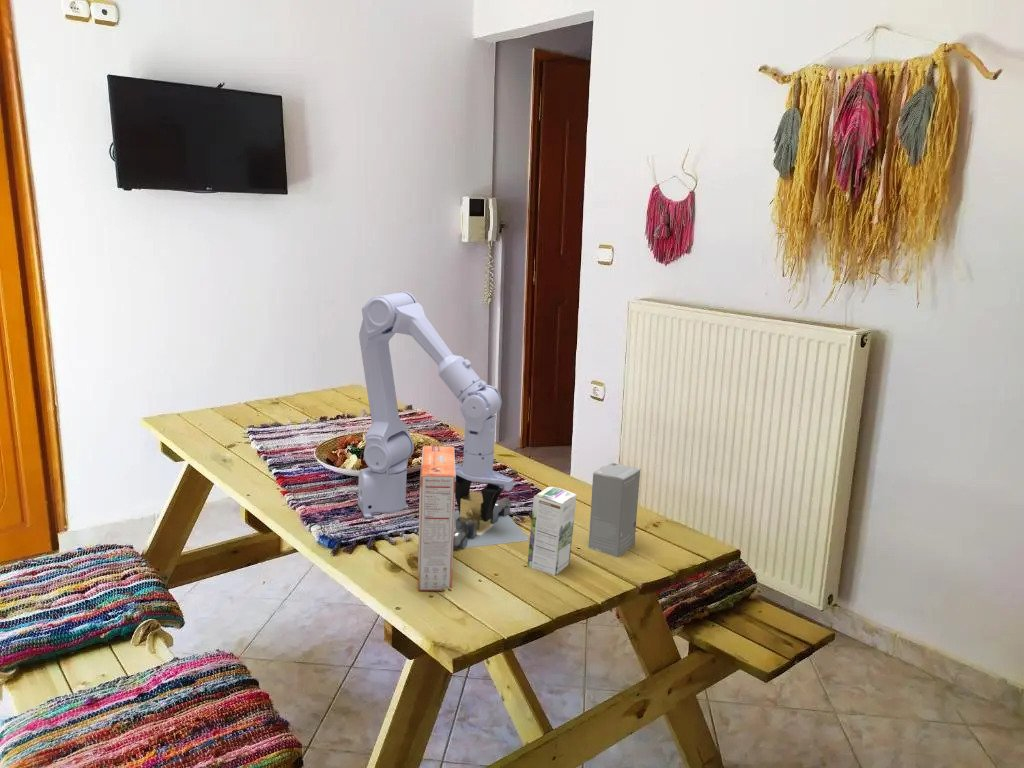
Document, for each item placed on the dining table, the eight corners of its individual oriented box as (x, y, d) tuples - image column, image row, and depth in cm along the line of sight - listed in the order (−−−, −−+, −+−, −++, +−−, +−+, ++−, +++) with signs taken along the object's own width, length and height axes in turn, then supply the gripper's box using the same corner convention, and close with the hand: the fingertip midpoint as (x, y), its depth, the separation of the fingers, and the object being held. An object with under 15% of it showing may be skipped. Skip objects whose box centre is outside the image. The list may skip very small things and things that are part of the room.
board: (449, 553, 146) (449, 548, 146) (426, 517, 160) (426, 513, 160) (530, 544, 152) (530, 539, 151) (501, 510, 166) (501, 506, 166)
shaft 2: (492, 523, 157) (493, 508, 157) (477, 518, 159) (478, 503, 158) (513, 512, 163) (514, 497, 163) (499, 507, 165) (499, 493, 164)
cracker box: (417, 553, 145) (421, 444, 140) (451, 553, 146) (456, 445, 141) (415, 592, 132) (419, 473, 126) (451, 592, 132) (457, 474, 127)
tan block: (478, 533, 152) (479, 504, 151) (458, 528, 154) (459, 499, 153) (491, 523, 157) (492, 495, 155) (471, 518, 159) (472, 490, 157)
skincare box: (618, 561, 147) (626, 481, 143) (583, 550, 151) (590, 471, 147) (636, 545, 154) (645, 468, 150) (603, 534, 158) (610, 459, 154)
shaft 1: (459, 532, 153) (459, 516, 152) (476, 535, 152) (477, 520, 151) (443, 547, 146) (444, 531, 145) (461, 551, 145) (462, 535, 144)
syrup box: (541, 558, 146) (547, 484, 143) (570, 567, 143) (577, 492, 140) (526, 570, 141) (532, 494, 138) (556, 580, 139) (562, 502, 135)
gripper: (522, 452, 152) (517, 518, 155) (456, 437, 158) (453, 501, 161) (505, 462, 146) (501, 531, 149) (437, 446, 152) (434, 512, 155)
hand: (475, 516), depth 155 cm, fingers open, 5 cm apart
